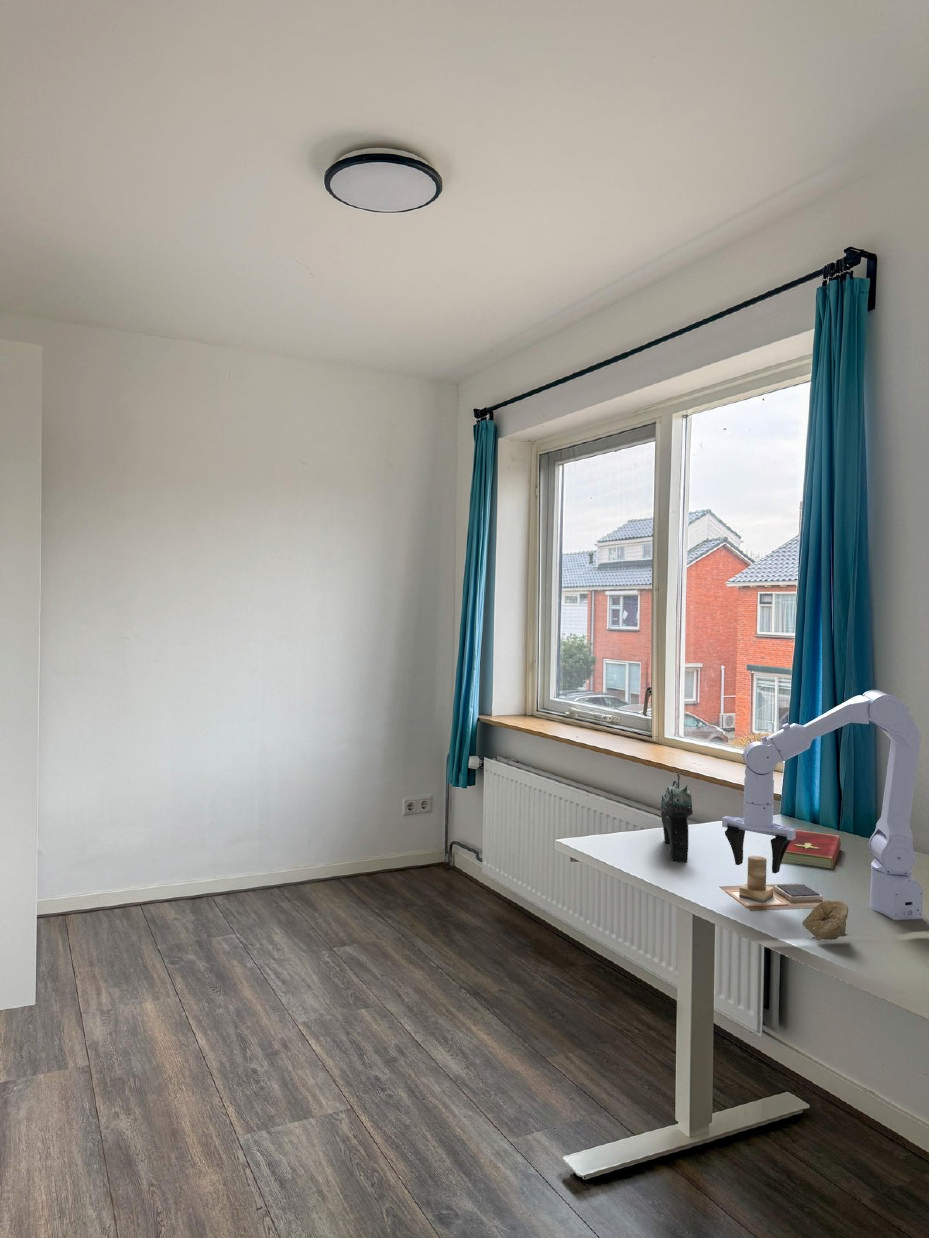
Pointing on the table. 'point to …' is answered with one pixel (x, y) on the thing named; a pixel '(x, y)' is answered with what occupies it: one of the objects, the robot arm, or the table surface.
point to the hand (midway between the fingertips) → (757, 867)
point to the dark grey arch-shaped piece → (676, 820)
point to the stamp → (756, 881)
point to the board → (790, 904)
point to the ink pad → (798, 893)
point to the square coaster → (749, 903)
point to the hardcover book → (813, 849)
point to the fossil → (827, 920)
